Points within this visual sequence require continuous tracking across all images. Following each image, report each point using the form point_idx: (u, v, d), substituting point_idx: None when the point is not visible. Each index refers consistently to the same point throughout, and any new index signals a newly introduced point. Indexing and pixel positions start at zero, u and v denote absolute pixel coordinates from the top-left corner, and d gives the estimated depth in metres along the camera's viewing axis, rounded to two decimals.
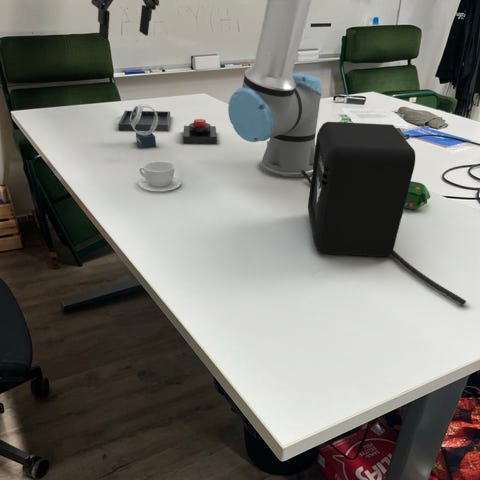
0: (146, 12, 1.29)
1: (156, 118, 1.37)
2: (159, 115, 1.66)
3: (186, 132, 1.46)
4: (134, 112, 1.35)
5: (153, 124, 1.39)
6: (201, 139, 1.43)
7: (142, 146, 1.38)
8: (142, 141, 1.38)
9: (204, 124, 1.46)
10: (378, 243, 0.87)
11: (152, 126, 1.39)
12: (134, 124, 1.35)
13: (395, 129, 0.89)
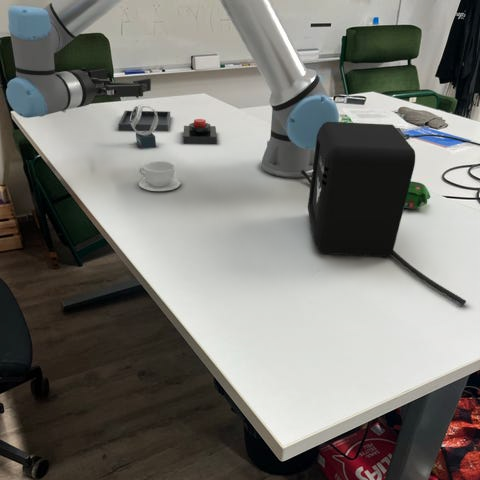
0: (92, 75, 1.21)
1: (156, 118, 1.37)
2: (159, 115, 1.66)
3: (186, 132, 1.46)
4: (134, 112, 1.35)
5: (153, 124, 1.39)
6: (201, 139, 1.43)
7: (142, 146, 1.38)
8: (142, 141, 1.38)
9: (204, 124, 1.46)
10: (378, 243, 0.87)
11: (152, 126, 1.39)
12: (134, 124, 1.35)
13: (395, 129, 0.89)
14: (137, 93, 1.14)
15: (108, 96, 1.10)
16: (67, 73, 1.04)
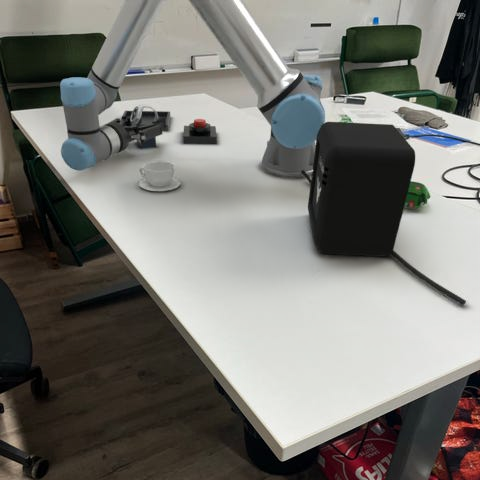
0: None
1: (156, 118, 1.37)
2: (159, 115, 1.66)
3: (186, 132, 1.46)
4: (135, 112, 1.35)
5: None
6: (201, 139, 1.43)
7: (142, 146, 1.38)
8: None
9: (204, 124, 1.46)
10: (378, 243, 0.87)
11: None
12: (134, 124, 1.35)
13: (395, 129, 0.89)
14: (159, 132, 1.33)
15: (143, 140, 1.27)
16: (106, 127, 1.20)
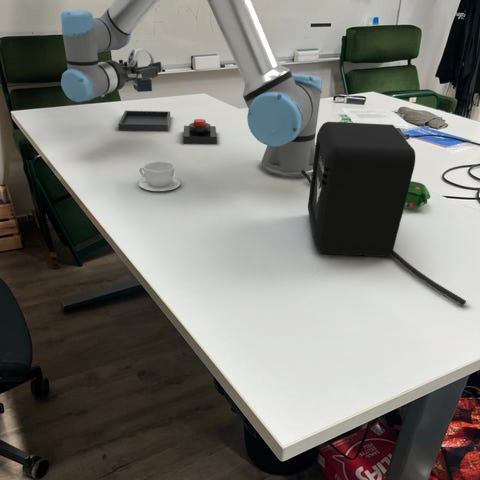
0: None
1: (152, 62, 1.43)
2: (159, 115, 1.66)
3: (186, 132, 1.46)
4: (131, 55, 1.41)
5: None
6: (201, 139, 1.43)
7: (139, 89, 1.44)
8: (139, 84, 1.43)
9: (204, 124, 1.46)
10: (378, 243, 0.87)
11: None
12: None
13: (395, 129, 0.89)
14: (154, 74, 1.39)
15: (139, 79, 1.33)
16: (104, 63, 1.26)
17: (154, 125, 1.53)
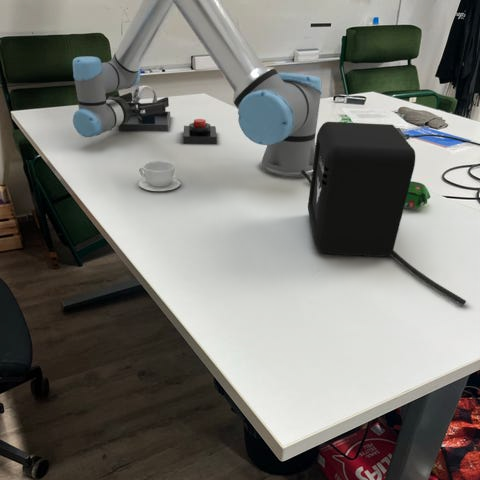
0: (123, 98, 1.56)
1: (155, 98, 1.56)
2: (159, 115, 1.66)
3: (186, 132, 1.46)
4: (136, 92, 1.54)
5: None
6: (201, 139, 1.43)
7: (143, 122, 1.57)
8: (143, 118, 1.56)
9: (204, 124, 1.46)
10: (378, 243, 0.87)
11: None
12: None
13: (395, 129, 0.89)
14: (161, 110, 1.49)
15: (141, 114, 1.45)
16: (111, 101, 1.39)
17: (154, 125, 1.53)
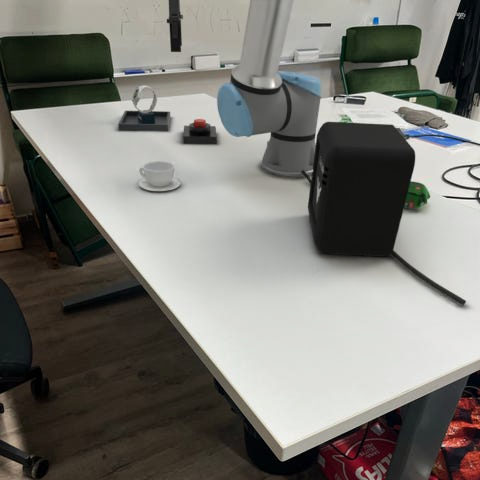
0: None
1: (155, 98, 1.56)
2: (159, 115, 1.66)
3: (186, 132, 1.46)
4: (136, 92, 1.54)
5: (152, 103, 1.58)
6: (201, 139, 1.43)
7: (143, 122, 1.57)
8: (143, 118, 1.56)
9: (204, 124, 1.46)
10: (378, 243, 0.87)
11: (152, 105, 1.58)
12: (136, 102, 1.54)
13: (395, 129, 0.89)
14: (171, 11, 1.21)
15: None
16: None
17: (154, 125, 1.53)
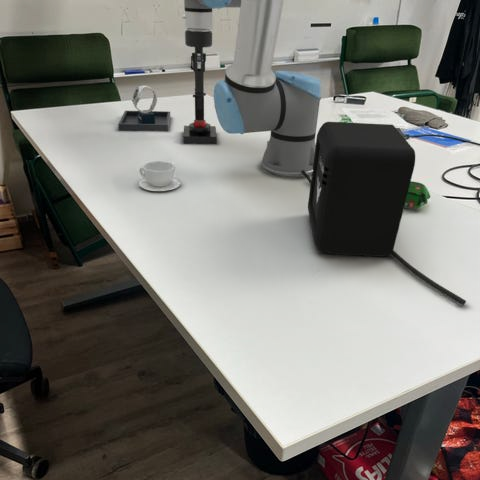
0: None
1: (155, 98, 1.56)
2: (159, 115, 1.66)
3: (186, 132, 1.46)
4: (136, 92, 1.54)
5: (152, 103, 1.58)
6: (201, 139, 1.43)
7: (143, 122, 1.57)
8: (143, 118, 1.56)
9: (204, 124, 1.46)
10: (378, 243, 0.87)
11: (152, 105, 1.58)
12: (136, 102, 1.54)
13: (395, 129, 0.89)
14: (197, 90, 1.37)
15: (196, 63, 1.31)
16: None
17: (154, 125, 1.53)
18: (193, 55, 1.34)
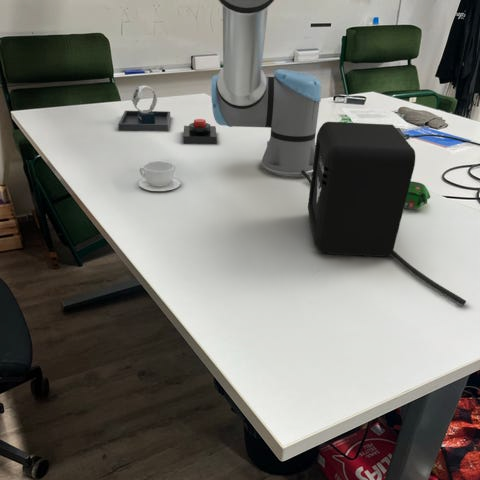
0: None
1: (155, 98, 1.56)
2: (159, 115, 1.66)
3: (186, 132, 1.46)
4: (136, 92, 1.54)
5: (152, 103, 1.58)
6: (201, 139, 1.43)
7: (143, 122, 1.57)
8: (143, 118, 1.56)
9: (204, 124, 1.46)
10: (378, 243, 0.87)
11: (152, 105, 1.58)
12: (136, 102, 1.54)
13: (395, 129, 0.89)
14: None
15: None
16: None
17: (154, 125, 1.53)
18: None
